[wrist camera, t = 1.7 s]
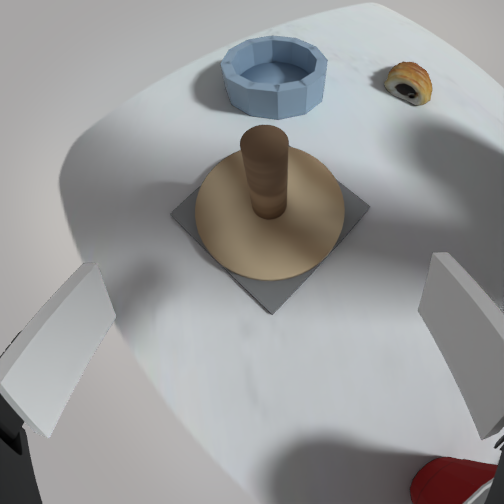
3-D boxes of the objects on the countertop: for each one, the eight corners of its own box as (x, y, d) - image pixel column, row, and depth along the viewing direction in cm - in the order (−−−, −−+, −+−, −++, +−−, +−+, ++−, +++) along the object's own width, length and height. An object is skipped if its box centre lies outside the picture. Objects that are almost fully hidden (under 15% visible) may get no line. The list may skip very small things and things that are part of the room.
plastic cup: (369, 478, 20) (417, 541, 8) (459, 414, 20) (538, 433, 9) (399, 536, 16) (440, 592, 5) (479, 479, 17) (542, 509, 5)
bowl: (272, 51, 37) (270, 28, 33) (341, 86, 33) (346, 61, 29) (208, 91, 35) (201, 66, 31) (279, 134, 31) (278, 106, 27)
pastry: (396, 64, 35) (401, 46, 32) (433, 83, 34) (441, 66, 30) (380, 91, 33) (387, 71, 30) (424, 114, 32) (433, 95, 28)
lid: (266, 130, 31) (260, 59, 22) (370, 206, 27) (404, 144, 18) (170, 214, 29) (127, 156, 20) (272, 314, 25) (268, 293, 16)
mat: (266, 132, 32) (266, 130, 31) (368, 208, 28) (370, 206, 27) (171, 215, 29) (170, 213, 29) (272, 314, 25) (272, 314, 25)
